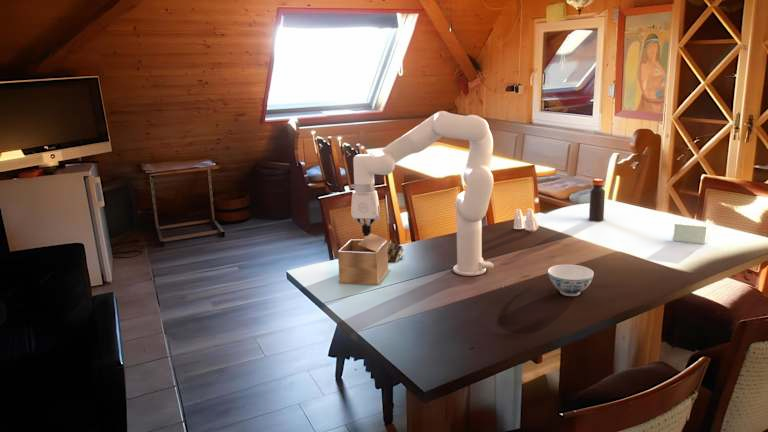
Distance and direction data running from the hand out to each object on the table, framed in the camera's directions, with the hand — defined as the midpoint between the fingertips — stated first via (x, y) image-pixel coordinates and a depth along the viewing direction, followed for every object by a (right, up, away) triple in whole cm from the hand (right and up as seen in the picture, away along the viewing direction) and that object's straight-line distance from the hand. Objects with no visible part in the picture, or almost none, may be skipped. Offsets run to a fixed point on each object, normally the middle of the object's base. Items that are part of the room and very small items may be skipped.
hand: (366, 234), depth 226 cm
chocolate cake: (+11, -11, +24) cm, 29 cm away
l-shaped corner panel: (+140, -3, +33) cm, 144 cm away
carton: (-1, -16, +5) cm, 17 cm away
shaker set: (+74, 0, +56) cm, 93 cm away
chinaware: (+71, -20, -20) cm, 76 cm away
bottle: (+112, +5, +69) cm, 131 cm away
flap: (+2, -3, 0) cm, 4 cm away
